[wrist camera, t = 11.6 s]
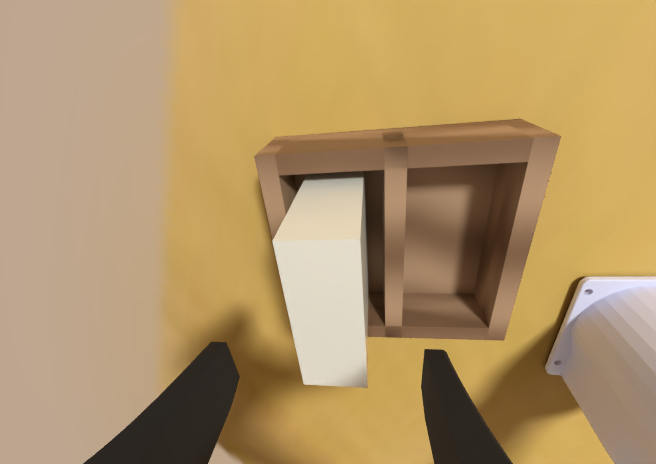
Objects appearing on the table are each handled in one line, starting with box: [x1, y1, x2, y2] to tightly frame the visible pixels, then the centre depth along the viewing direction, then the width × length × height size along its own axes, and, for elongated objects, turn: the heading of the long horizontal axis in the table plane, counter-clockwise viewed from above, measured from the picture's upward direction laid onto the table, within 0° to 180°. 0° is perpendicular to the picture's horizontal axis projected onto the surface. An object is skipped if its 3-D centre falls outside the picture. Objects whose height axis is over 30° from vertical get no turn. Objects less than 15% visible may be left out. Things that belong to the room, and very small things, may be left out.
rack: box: [254, 119, 561, 340], centre depth 18 cm, size 12×13×4 cm
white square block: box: [272, 171, 368, 388], centre depth 16 cm, size 8×3×8 cm, turn 6°
